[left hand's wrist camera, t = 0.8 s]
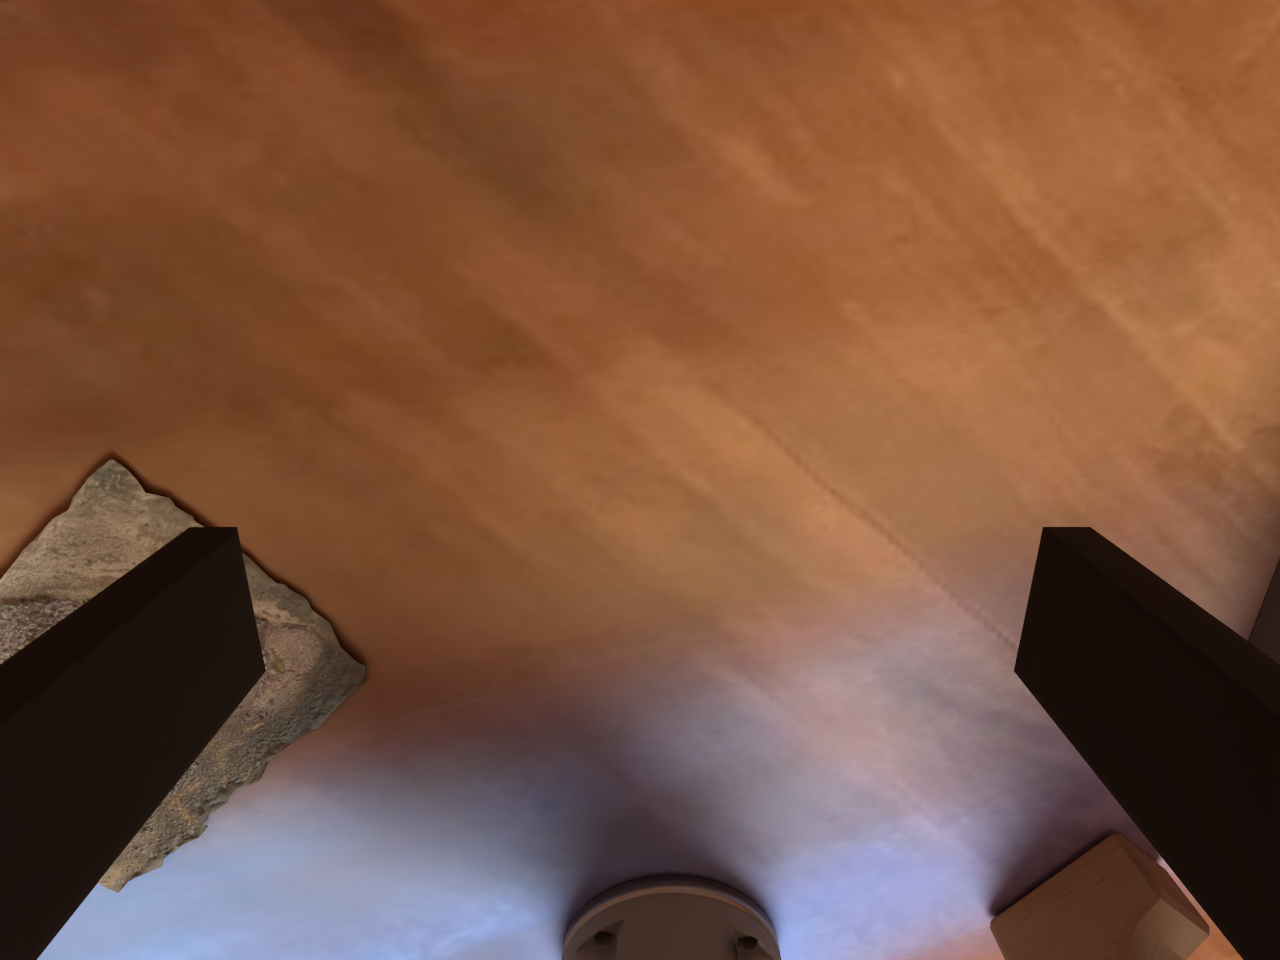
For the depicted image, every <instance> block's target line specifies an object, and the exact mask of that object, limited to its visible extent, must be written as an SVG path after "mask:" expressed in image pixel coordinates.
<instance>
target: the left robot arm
mask: <svg viewBox="0 0 1280 960" xmlns="http://www.w3.org/2000/svg"><path fill="white" fill-rule="evenodd" d="M265 672H266V669H265V664H264V659H263V654H262V649H261V644H260V639H259V634H258V629H257V624H256V619H255V614H254V609H253V604H252V600H251V595H250V590H249V585H248V580H247V575H246V570H245V565H244V560H243V555H242V550H241V545H240V540H239V535H238V531H237V527H189V528H188V529H186V530H185V531H184V532H182V533H181V534H180V535H178V536H177V537H175V538H174V539H173V540H171V541H170V542H169V543H167V544H166V545H164V546H163V547H162V548H160V549H159V550H158V551H156V552H155V553H153V554H152V555H151V556H149V557H148V558H146V559H145V560H144V561H142V562H141V563H140V564H138V565H137V566H135V567H134V568H133V569H131V570H130V571H129V572H127V573H126V574H124V575H123V576H122V577H120V578H119V579H118V580H116V581H115V582H113V583H112V584H111V585H109V586H108V587H106V588H105V589H104V590H102V591H101V592H100V593H98V594H97V595H95V596H94V597H93V598H91V599H90V600H89V601H87V602H86V603H84V604H83V605H82V606H80V607H79V608H78V609H76V610H75V611H73V612H72V613H71V614H69V615H68V616H66V617H65V618H64V619H62V620H61V621H60V622H58V623H57V624H55V625H54V626H53V627H51V628H50V629H49V630H47V631H46V632H44V633H43V634H42V635H40V636H39V637H38V638H36V639H35V640H33V641H32V642H31V643H29V644H28V645H27V646H25V647H24V648H22V649H21V650H20V651H18V652H17V653H15V654H14V655H13V656H11V657H10V658H9V659H7V660H6V661H4V662H3V663H2V664H0V960H37V958H38V957H39V956H40V955H41V953H42V952H43V951H44V950H45V948H46V947H47V946H48V945H49V943H50V942H51V941H52V940H53V938H54V937H55V936H56V935H57V933H58V932H59V931H60V930H61V928H62V927H63V926H64V925H65V923H66V922H67V921H68V919H69V918H70V917H71V916H72V914H73V913H74V912H75V911H76V909H77V908H78V907H79V906H80V904H81V903H82V902H83V901H84V899H85V898H86V897H87V896H88V894H89V893H90V892H91V891H92V889H93V888H94V887H95V886H96V884H97V883H98V882H99V880H100V879H101V878H102V877H103V875H104V874H105V873H106V872H107V870H108V869H109V868H110V867H111V865H112V864H113V863H114V862H115V860H116V859H117V858H118V857H119V855H120V854H121V853H122V852H123V850H124V849H125V848H126V847H127V845H128V844H129V843H130V841H131V840H132V839H133V838H134V836H135V835H136V834H137V833H138V831H139V830H140V829H141V828H142V826H143V825H144V824H145V823H146V821H147V820H148V819H149V818H150V816H151V815H152V814H153V813H154V811H155V810H156V809H157V808H158V806H159V805H160V804H161V802H162V801H163V800H164V799H165V797H166V796H167V795H168V794H169V792H170V791H171V790H172V789H173V787H174V786H175V785H176V784H177V782H178V781H179V780H180V779H181V777H182V776H183V775H184V774H185V772H186V771H187V770H188V769H189V767H190V766H191V765H192V763H193V762H194V761H195V760H196V758H197V757H198V756H199V755H200V753H201V752H202V751H203V750H204V748H205V747H206V746H207V745H208V743H209V742H210V741H211V740H212V738H213V737H214V736H215V735H216V733H217V732H218V731H219V730H220V728H221V727H222V726H223V725H224V723H225V722H226V721H227V719H228V718H229V717H230V716H231V714H232V713H233V712H234V711H235V709H236V708H237V707H238V706H239V704H240V703H241V702H242V701H243V699H244V698H245V697H246V696H247V694H248V693H249V692H250V691H251V689H252V688H253V687H254V686H255V684H256V683H257V682H258V680H259V679H260V678H261V677H262V675H263V674H264V673H265ZM1014 672H1015V673H1016V674H1017V675H1018V677H1019V678H1020V679H1021V680H1022V682H1023V683H1024V684H1025V686H1026V687H1027V688H1028V689H1029V691H1030V692H1031V693H1032V694H1033V696H1034V697H1035V698H1036V699H1037V701H1038V702H1039V703H1040V704H1041V706H1042V707H1043V708H1044V709H1045V711H1046V712H1047V713H1048V714H1049V716H1050V717H1051V718H1052V719H1053V721H1054V722H1055V723H1056V725H1057V726H1058V727H1059V728H1060V730H1061V731H1062V732H1063V733H1064V735H1065V736H1066V737H1067V738H1068V740H1069V741H1070V742H1071V743H1072V745H1073V746H1074V747H1075V748H1076V750H1077V751H1078V752H1079V753H1080V755H1081V756H1082V757H1083V758H1084V760H1085V761H1086V762H1087V763H1088V765H1089V766H1090V767H1091V769H1092V770H1093V771H1094V772H1095V774H1096V775H1097V776H1098V777H1099V779H1100V780H1101V781H1102V782H1103V784H1104V785H1105V786H1106V787H1107V789H1108V790H1109V791H1110V792H1111V794H1112V795H1113V796H1114V797H1115V799H1116V800H1117V801H1118V802H1119V804H1120V805H1121V806H1122V808H1123V809H1124V810H1125V811H1126V813H1127V814H1128V815H1129V816H1130V818H1131V819H1132V820H1133V821H1134V823H1135V824H1136V825H1137V826H1138V828H1139V829H1140V830H1141V831H1142V833H1143V834H1144V835H1145V836H1146V838H1147V839H1148V840H1149V841H1150V843H1151V844H1152V845H1153V847H1154V848H1155V849H1156V850H1157V852H1158V853H1159V854H1160V855H1161V857H1162V858H1163V859H1164V860H1165V862H1166V863H1167V864H1168V865H1169V867H1170V868H1171V869H1172V870H1173V872H1174V873H1175V874H1176V875H1177V877H1178V878H1179V879H1180V880H1181V882H1182V883H1183V884H1184V886H1185V887H1186V888H1187V889H1188V891H1189V892H1190V893H1191V894H1192V896H1193V897H1194V898H1195V899H1196V901H1197V902H1198V903H1199V904H1200V906H1201V907H1202V908H1203V909H1204V911H1205V912H1206V913H1207V914H1208V916H1209V917H1210V918H1211V919H1212V921H1213V922H1214V923H1215V925H1216V926H1217V927H1218V928H1219V930H1220V931H1221V932H1222V933H1223V935H1224V936H1225V937H1226V938H1227V940H1228V941H1229V942H1230V943H1231V945H1232V946H1233V947H1234V948H1235V950H1236V951H1237V952H1238V953H1239V955H1240V956H1241V957H1242V958H1243V960H1280V664H1278V663H1277V662H1276V661H1274V660H1273V659H1271V658H1270V657H1269V656H1267V655H1266V654H1265V653H1263V652H1262V651H1260V650H1259V649H1258V648H1256V647H1255V646H1253V645H1252V644H1251V643H1249V642H1248V641H1247V640H1245V639H1244V638H1242V637H1241V636H1240V635H1238V634H1237V633H1236V632H1234V631H1233V630H1231V629H1230V628H1229V627H1227V626H1226V625H1225V624H1223V623H1222V622H1220V621H1219V620H1218V619H1216V618H1215V617H1214V616H1212V615H1211V614H1209V613H1208V612H1207V611H1205V610H1204V609H1202V608H1201V607H1200V606H1198V605H1197V604H1196V603H1194V602H1193V601H1191V600H1190V599H1189V598H1187V597H1186V596H1185V595H1183V594H1182V593H1180V592H1179V591H1178V590H1176V589H1175V588H1174V587H1172V586H1171V585H1169V584H1168V583H1167V582H1165V581H1164V580H1162V579H1161V578H1160V577H1158V576H1157V575H1156V574H1154V573H1153V572H1151V571H1150V570H1149V569H1147V568H1146V567H1145V566H1143V565H1142V564H1140V563H1139V562H1138V561H1136V560H1135V559H1134V558H1132V557H1131V556H1129V555H1128V554H1127V553H1125V552H1124V551H1122V550H1121V549H1120V548H1118V547H1117V546H1116V545H1114V544H1113V543H1111V542H1110V541H1109V540H1107V539H1106V538H1105V537H1103V536H1102V535H1100V534H1099V533H1098V532H1096V531H1095V530H1094V529H1092V528H1091V527H1043V531H1042V535H1041V540H1040V545H1039V550H1038V555H1037V560H1036V565H1035V570H1034V575H1033V580H1032V585H1031V590H1030V595H1029V600H1028V604H1027V609H1026V614H1025V619H1024V624H1023V629H1022V634H1021V639H1020V644H1019V649H1018V654H1017V659H1016V664H1015V669H1014ZM562 960H781V957H780V951H779V946H778V941H777V936H776V933H775V930H774V928H773V926H772V924H771V922H770V920H769V919H768V917H767V916H766V915H765V913H764V912H763V911H762V910H761V909H760V908H759V907H758V906H757V905H756V904H755V903H754V902H753V901H751V900H750V899H749V898H747V897H746V896H744V895H743V894H741V893H740V892H738V891H736V890H734V889H732V888H730V887H728V886H725V885H723V884H720V883H717V882H714V881H711V880H707V879H702V878H697V877H690V876H678V875H665V876H653V877H647V878H641V879H637V880H633V881H630V882H626V883H623V884H621V885H618V886H616V887H613V888H611V889H609V890H607V891H605V892H604V893H602V894H600V895H599V896H597V897H596V898H594V899H593V900H592V901H590V902H589V903H588V904H587V905H586V906H585V907H584V908H582V909H581V911H580V912H579V913H578V914H577V915H576V917H575V918H574V920H573V921H572V923H571V924H570V926H569V928H568V930H567V933H566V936H565V940H564V945H563V954H562Z"/></svg>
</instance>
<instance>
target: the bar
mask: <svg viewBox="0 0 1280 960" xmlns="http://www.w3.org/2000/svg"><path fill="white" fill-rule="evenodd" d="M1249 643H1251V644H1252V645H1253V646H1255V647H1256V648H1258V649H1259V650H1260V651H1262V652H1263V653H1265V654H1266V655H1267V656H1269V657H1270V658H1271V659H1273V660H1274V661H1276V662H1277V663H1278V664H1280V562H1279V564H1278V567H1277V569H1276V572H1275V575H1274V577H1273V580H1272V582H1271V585H1270V588H1269V590H1268V593H1267V595H1266V598H1265V601H1264V603H1263V606H1262V608H1261V611H1260V613H1259V616H1258V619H1257V621H1256V624H1255V626H1254V629H1253V632H1252V634H1251V637H1250V639H1249Z"/></svg>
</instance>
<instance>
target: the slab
mask: <svg viewBox="0 0 1280 960" xmlns="http://www.w3.org/2000/svg"><path fill="white" fill-rule="evenodd" d="M189 527H204V526H202V525H200V524H199V523H197V522H196V521H195V520H194V518H193V516H192V515H189V514H187V513H186V512H184V511H182V510H180V509H179V508H177V507H176V506H175V505H174V503H173V502H172V500H171V499H170V498H168V497H163V496H158V495H154V494H149V493H145V491H144V490H143V488H142V487H141V485H140V484H139V482H138V481H137V480H136V478H135V477H134V476H133V475H132V474H131V473H130V472H129V471H128V470H127V469H126V468H125V467H123V466H122V465H120V464H119V463H118V462H116V461H115V460H109V461H108V462H107V463H105V464H104V465H103V466H101V467H100V468H99V469H98V470H97V471H96V472H94V473H93V474H92V475H91V476H90V477H89V478H88V479H87V480H86V482H85V484H84V485H83V486H82V487H81V489H80V490H79V491H78V492H77V494H76V495H75V496H74V497H73V499H72V502H71V504H70V507H69V509H68V510H67V511H65V512H64V513H62V514H60V515H58V516H57V517H55V518H53V519H52V520H51V521H50V523H49V524H48V525H47V526H46V527H45V528H44V529H43V530H42V532H41V533H40V534H39V535H38V536H37V537H36V538H35V540H34V541H33V542H31V543H30V544H29V545H28V546H27V547H26V548H24V550H23V551H22V552H21V554H20V555H19V556H18V558H17V559H16V561H15V562H14V563H13V565H12V566H11V567H10V568H9V570H8V571H7V572H6V573H5V575H4V576H3V577H2V578H1V580H0V664H2V663H3V662H4V661H6V660H7V659H9V658H10V657H11V656H13V655H14V654H15V653H17V652H18V651H20V650H21V649H22V648H24V647H25V646H27V645H28V644H29V643H31V642H32V641H33V640H35V639H36V638H38V637H39V636H40V635H42V634H43V633H44V632H46V631H47V630H49V629H50V628H51V627H53V626H54V625H55V624H57V623H58V622H60V621H61V620H62V619H64V618H65V617H66V616H68V615H69V614H71V613H72V612H73V611H75V610H76V609H78V608H79V607H80V606H82V605H83V604H84V603H86V602H87V601H89V600H90V599H91V598H93V597H94V596H95V595H97V594H98V593H100V592H101V591H102V590H104V589H105V588H106V587H108V586H109V585H111V584H112V583H113V582H115V581H116V580H118V579H119V578H120V577H122V576H123V575H124V574H126V573H127V572H129V571H130V570H131V569H133V568H134V567H135V566H137V565H138V564H140V563H141V562H142V561H144V560H145V559H146V558H148V557H149V556H151V555H152V554H153V553H155V552H156V551H158V550H159V549H160V548H162V547H163V546H164V545H166V544H167V543H169V542H170V541H171V540H173V539H174V538H175V537H177V536H178V535H180V534H181V533H182V532H184V531H185V530H186V529H188V528H189ZM242 555H243V560H244V565H245V570H246V575H247V580H248V585H249V590H250V595H251V600H252V604H253V609H254V614H255V619H256V624H257V629H258V634H259V639H260V644H261V649H262V654H263V659H264V664H265V669H266V672H265V673H264V674H263V675H262V677H261V678H260V679H259V680H258V682H257V683H256V684H255V686H254V687H253V688H252V689H251V691H250V692H249V693H248V694H247V696H246V697H245V698H244V699H243V701H242V702H241V703H240V704H239V706H238V707H237V708H236V709H235V711H234V712H233V713H232V714H231V716H230V717H229V718H228V719H227V721H226V722H225V723H224V725H223V726H222V727H221V728H220V730H219V731H218V732H217V733H216V735H215V736H214V737H213V738H212V740H211V741H210V742H209V743H208V745H207V746H206V747H205V748H204V750H203V751H202V752H201V753H200V755H199V756H198V757H197V758H196V760H195V761H194V762H193V763H192V765H191V766H190V767H189V769H188V770H187V771H186V772H185V774H184V775H183V776H182V777H181V779H180V780H179V781H178V782H177V784H176V785H175V786H174V787H173V789H172V790H171V791H170V792H169V794H168V795H167V796H166V797H165V799H164V800H163V801H162V802H161V804H160V805H159V806H158V808H157V809H156V810H155V811H154V813H153V814H152V815H151V816H150V818H149V819H148V820H147V821H146V823H145V824H144V825H143V826H142V828H141V829H140V830H139V831H138V833H137V834H136V835H135V836H134V838H133V839H132V840H131V841H130V843H129V844H128V845H127V847H126V848H125V849H124V850H123V852H122V853H121V854H120V855H119V857H118V858H117V859H116V860H115V862H114V863H113V864H112V865H111V867H110V868H109V869H108V870H107V872H106V873H105V874H104V875H103V877H102V878H101V879H100V880H99V882H98V883H99V884H101V885H102V886H104V887H106V888H109V889H111V890H113V891H116V892H117V893H118V892H119V891H120V890H121V889H122V888H123V887H124V886H125V884H126V883H127V882H128V881H130V880H132V879H134V878H136V877H138V876H140V875H142V874H145V873H147V872H149V871H152V870H154V869H157V868H159V867H161V866H162V864H163V859H164V858H165V857H166V856H167V855H168V854H170V853H172V852H175V851H176V850H177V849H178V848H179V847H180V846H181V845H183V844H185V843H187V842H189V841H191V840H194V839H196V838H198V837H199V836H200V835H201V834H202V833H203V832H204V831H205V829H206V828H207V827H208V825H204V822H205V819H206V818H207V817H208V815H209V814H211V813H212V812H214V811H215V810H216V809H218V808H219V807H221V806H222V805H224V804H225V803H226V802H227V801H228V798H229V796H230V795H232V794H234V793H236V792H237V791H239V790H241V789H242V788H244V787H246V786H247V785H250V784H252V783H254V782H256V781H258V780H260V779H261V776H262V774H263V772H264V770H265V768H266V766H267V764H268V762H269V761H270V760H271V759H272V758H273V757H275V756H276V755H277V754H278V753H279V752H280V751H282V750H283V749H284V748H286V747H287V746H288V745H290V744H291V743H292V742H294V741H295V740H297V739H299V738H300V737H302V736H303V735H305V734H307V733H308V732H311V731H313V730H316V729H319V728H320V726H321V725H322V723H323V722H324V721H325V720H326V719H327V717H328V716H329V715H330V714H331V713H332V712H333V711H334V710H335V709H336V708H337V707H338V706H339V705H340V704H341V703H342V702H343V701H344V700H345V699H346V698H347V697H348V696H349V695H350V694H352V693H353V692H354V691H355V690H356V689H357V688H358V687H359V686H360V685H361V684H364V682H365V669H366V667H365V666H363V665H361V664H360V663H358V662H356V661H355V660H354V659H353V658H352V657H351V656H349V655H348V654H347V653H346V652H345V651H344V650H343V649H342V648H341V647H340V645H339V642H338V640H337V638H336V636H335V633H334V631H333V629H332V627H331V624H330V623H329V622H328V621H326V620H325V619H324V618H322V617H321V616H320V615H318V614H317V613H316V612H314V611H313V610H312V609H311V607H310V605H309V603H308V601H307V600H306V599H305V598H304V597H303V596H302V595H300V594H298V593H296V592H294V591H292V590H290V589H289V588H288V587H287V586H286V585H284V584H277V583H276V582H275V581H273V580H272V579H271V578H269V577H268V576H267V575H266V574H265V573H264V572H263V571H262V570H261V569H260V568H259V567H258V566H257V565H256V564H255V563H254V562H253V561H252V560H251V559H250V558H249V557H248V556H246V555H245V554H244V553H242Z"/></svg>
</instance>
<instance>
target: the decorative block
mask: <svg viewBox="0 0 1280 960" xmlns="http://www.w3.org/2000/svg"><path fill="white" fill-rule="evenodd" d="M990 929H991V931H992V933H993V935H994V937H995V939H996V942H997V944H998V946H999V948H1000V950H1001V952H1002V954H1003V956H1004V958H1005V960H1186V959H1187V958H1188V957H1189V956H1190V955H1191V954H1192V953H1193V952H1194V951H1195V950H1196V949H1197V948H1198V947H1199V946H1200V944H1201V943H1202V942H1203V941H1204V940H1205V939H1206V938H1207V937H1208V936H1209V926H1208V924H1207V923H1206V922H1205V920H1204V919H1203V918H1202V916H1201V915H1200V914H1199V913H1198V911H1197V910H1196V909H1195V907H1194V906H1193V905H1192V903H1191V902H1190V901H1189V900H1188V898H1187V897H1186V896H1185V894H1184V893H1183V892H1182V890H1181V889H1180V888H1179V887H1178V885H1177V884H1176V883H1175V881H1174V880H1173V879H1172V878H1171V876H1170V875H1169V874H1168V872H1167V871H1166V870H1165V869H1164V868H1163V867H1161V866H1160V865H1159V864H1158V863H1156V862H1155V861H1154V860H1153V859H1151V858H1150V857H1149V856H1148V855H1146V854H1145V853H1144V852H1142V851H1141V850H1140V849H1139V848H1137V847H1136V846H1135V845H1134V844H1132V843H1131V842H1130V841H1129V840H1127V839H1126V838H1125V837H1123V836H1122V835H1121V834H1116V833H1112V834H1111V835H1109V836H1108V837H1107V838H1105V839H1104V840H1103V841H1101V842H1100V843H1098V844H1097V845H1096V846H1094V847H1093V848H1092V849H1090V850H1089V851H1087V852H1086V853H1085V854H1083V855H1082V856H1080V857H1079V858H1078V859H1076V860H1075V861H1074V862H1072V863H1071V864H1069V865H1068V866H1067V867H1065V868H1064V869H1063V870H1061V871H1060V872H1058V873H1057V874H1056V875H1054V876H1053V877H1051V878H1050V879H1049V880H1047V881H1046V882H1044V883H1043V884H1042V885H1040V886H1039V887H1037V888H1036V889H1035V890H1033V891H1032V892H1030V893H1029V894H1028V895H1026V896H1025V897H1023V898H1022V899H1021V900H1019V901H1018V902H1016V903H1015V904H1014V905H1012V906H1011V907H1009V908H1008V909H1007V910H1005V911H1004V912H1002V913H1001V914H999V915H998V916H997V917H995V918H994V919H992V920H991V922H990Z"/></svg>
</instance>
